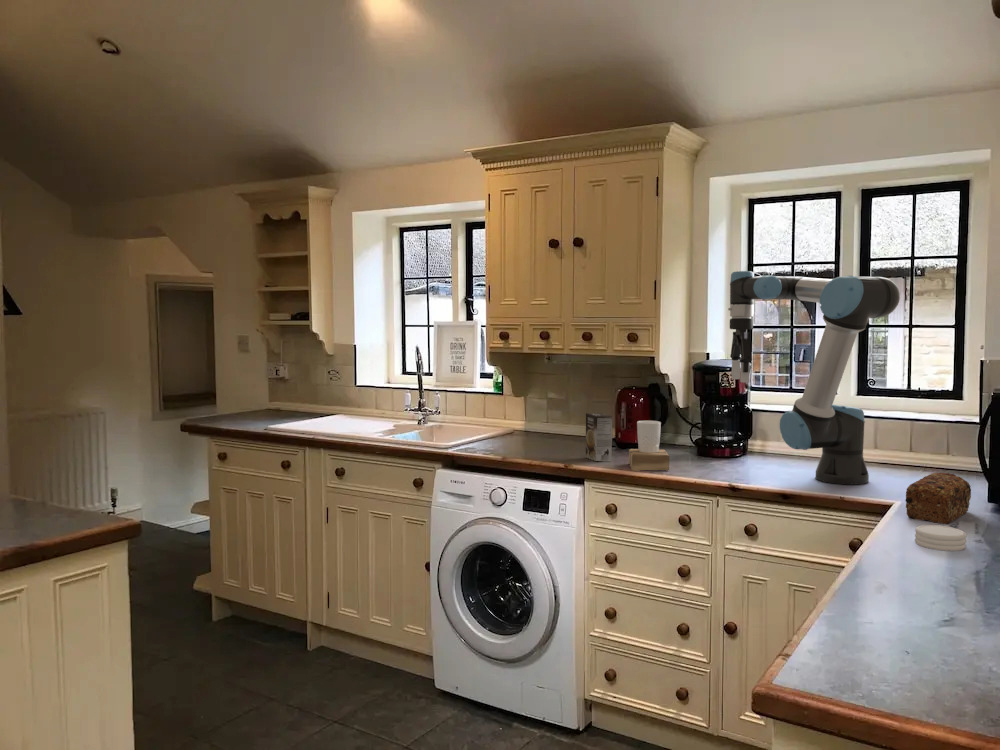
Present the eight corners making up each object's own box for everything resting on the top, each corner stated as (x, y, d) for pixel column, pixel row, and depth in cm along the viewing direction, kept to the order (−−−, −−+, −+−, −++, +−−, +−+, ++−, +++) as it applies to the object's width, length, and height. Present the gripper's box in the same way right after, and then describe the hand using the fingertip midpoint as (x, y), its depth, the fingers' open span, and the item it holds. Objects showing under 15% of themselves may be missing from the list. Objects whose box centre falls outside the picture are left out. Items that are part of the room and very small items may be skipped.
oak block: (669, 470, 265) (669, 455, 265) (632, 470, 266) (632, 454, 266) (664, 464, 277) (664, 449, 277) (628, 463, 278) (629, 448, 278)
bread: (928, 506, 216) (929, 469, 216) (972, 512, 209) (974, 474, 208) (902, 518, 203) (904, 479, 203) (949, 526, 196) (950, 485, 195)
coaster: (969, 554, 173) (970, 538, 173) (917, 549, 176) (918, 533, 176) (961, 541, 182) (961, 526, 182) (911, 537, 186) (912, 522, 186)
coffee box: (584, 457, 290) (585, 413, 289) (601, 456, 292) (601, 412, 291) (595, 462, 281) (595, 416, 280) (612, 461, 283) (612, 415, 282)
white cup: (660, 453, 267) (660, 423, 267) (636, 453, 269) (636, 423, 268) (660, 449, 275) (661, 420, 274) (637, 449, 277) (637, 420, 276)
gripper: (722, 317, 285) (721, 377, 286) (738, 317, 260) (737, 383, 261) (744, 317, 284) (743, 377, 286) (762, 317, 259) (760, 383, 261)
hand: (740, 380), depth 273 cm, fingers open, 13 cm apart
